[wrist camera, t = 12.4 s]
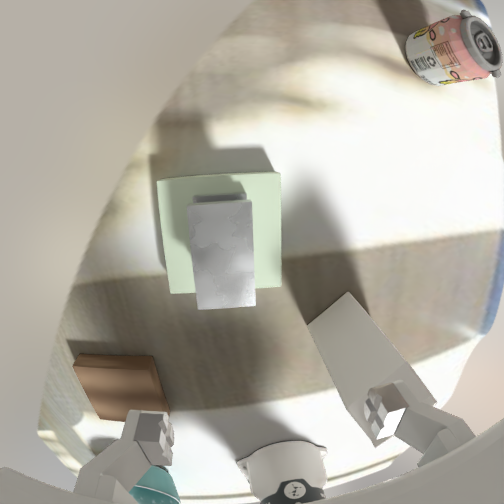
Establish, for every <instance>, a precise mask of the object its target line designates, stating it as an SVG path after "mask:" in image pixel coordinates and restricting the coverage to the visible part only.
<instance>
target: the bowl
mask: <svg viewBox="0 0 504 504" xmlns="http://www.w3.org/2000/svg"><path fill="white" fill-rule="evenodd" d="M128 493H129V494H130V495H131V496H132V497H133V498H134V499H135V500H136V501H137V502H138V504H181V502H180V499H179V496H178V493H177V490H176V487H175V485H174V482H173V479H172V477H171V476H170V474H168V473H167V472H166V471H165V470H164V469H162V468H160V467H158V466H156V465H151V467H150V468H149V469H148V471H147V472H146V473H145V474H144V475H143V476H142V477H141V479H140V480H139V481H138V482H137V483H136V484H135V486H134V487H133V488H132V489H131V490H130V491H129V492H128Z"/></svg>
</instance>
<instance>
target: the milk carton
mask: <svg viewBox="0 0 504 504" xmlns="http://www.w3.org/2000/svg"><path fill="white" fill-rule="evenodd" d="M307 327H308V329H309V332H310V334H311V336H312V338H313V340H314V342H315V344H316V346H317V348H318V350H319V352H320V354H321V357H322V359H323V361H324V363H325V365H326V367H327V369H328V371H329V373H330V376H331V378H332V380H333V382H334V384H335V386H336V388H337V390H338V393H339V395H340V397H341V399H342V401H343V403H344V405H345V408H346V410H347V411H348V412H349V413H350V415H351V416H352V417H353V418H354V420H355V421H356V422H357V423H358V425H359V426H360V427H361V428H362V430H363V431H364V432H365V433H366V434H367V436H368V437H369V438H370V439H371V441H372V443H373V445H374V447H375V448H377V447H379V446H380V445H382V444H383V443H385V442H386V441H388V440H389V439H391V438H392V437H394V436H395V435H394V434H393V435H390V436H386V437H383V438H380V439H376V437H375V435H374V433H373V431H372V429H371V427H372V423H370V422H368V421H367V419H366V417H365V414H364V404H365V401H366V400H367V399H368V398H369V397H368V395H367V394H368V391H369V389H370V388H373V387H376V386H380V385H383V384H387V383H391V382H394V381H398V380H403V381H404V382H405V384H406V385H407V386H408V388H409V389H410V390H411V392H412V393H413V394H414V396H415V397H416V399H417V400H418V401H419V403H421V402H423V403H426V404H428V405H430V406H434V405H435V404H437V401H436V400H435V398H434V397H433V396H432V394H431V393H430V392H429V390H428V389H427V387H426V386H425V385H424V383H423V382H422V381H421V379H420V378H419V377H418V375H417V374H416V373H415V371H414V370H413V369H412V367H411V366H410V365H409V363H408V362H407V361H406V359H405V358H404V357H403V356H402V355H401V353H400V352H399V351H398V350H397V348H396V347H395V346H394V345H393V343H392V342H391V341H390V340H389V339H388V337H387V336H386V335H385V334H384V332H383V331H382V330H381V329H380V328H379V326H378V325H377V324H376V323H375V322H374V320H373V319H372V318H371V317H370V316H369V314H368V313H367V312H366V311H365V310H364V309H363V307H362V306H361V305H360V304H359V303H358V302H357V300H356V299H355V298H354V297H353V296H352V295H351V293H350V292H346V293H345V294H344V295H343V296H342V297H341V298H339V299H338V300H337V301H336V302H335V303H334V304H332V305H331V306H330V307H329V308H328V309H326V310H325V311H324V312H323V313H322V314H320V315H319V316H318V317H317V318H316V319H314V320H313V321H312V322H311V323H309V324H308V325H307Z"/></svg>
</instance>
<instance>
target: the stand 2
mask: <svg viewBox="0 0 504 504" xmlns="http://www.w3.org/2000/svg"><path fill="white" fill-rule="evenodd" d="M157 191H158V202H159V212H160V221H161V230H162V238H163V246H164V253H165V261H166V267H167V274H168V280H169V287H170V293H171V294H179V293H196V290H195V282H194V274H193V266H192V257H191V248H190V238H189V227H188V217H187V205H188V203H193V196H194V195H204V194H218V193H235V192H246V193H247V200H249V199H251V201H252V216H253V244H254V273H255V288H267V287H279V286H281V174H280V173H278V172H275V171H274V172H245V173H226V174H211V175H197V176H185V177H174V178H164V179H161V180H158V181H157Z"/></svg>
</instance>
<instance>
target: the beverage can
mask: <svg viewBox="0 0 504 504" xmlns="http://www.w3.org/2000/svg"><path fill="white" fill-rule="evenodd" d="M460 15H461V16H458V15H452V16H450V17H447V18H445V19H443V20H440V21H438V22H436V23H433V24H431V25H429V26H427V27H424V28H422V29H420V30H418V31H416V32H414V33H412V34H411V35H409V37H408V39H407V41H406V47H405V50H406V55H407V59H408V61H409V63H410V66H411V67H412V69H413V70H414V71H415V73H416V74H417V75H418V76H419V77H420V78H421V79H422V80H424V81H425V82H427V83H429V84H431V85H436V86H440V85H446V84H451V83H457V82H463V81H470V80H477V79H483V78H487V77H488V76H489V75H490V74H492V76H493V77H496V78H499V77H500V76H501V72H500V70H499V69H500V68H501V66H502V52H501V49H500V45H499V43H498V41H497V39H496V37H495V35H494V34H493V32H492V30H491V29H490V28H489V27H488V25H487V24H486V23H484V22H483V21H482V20H481V19H479V18H478V17H476V16H471V14H470V13H469V11H466V10H462V11H461V13H460Z"/></svg>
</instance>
